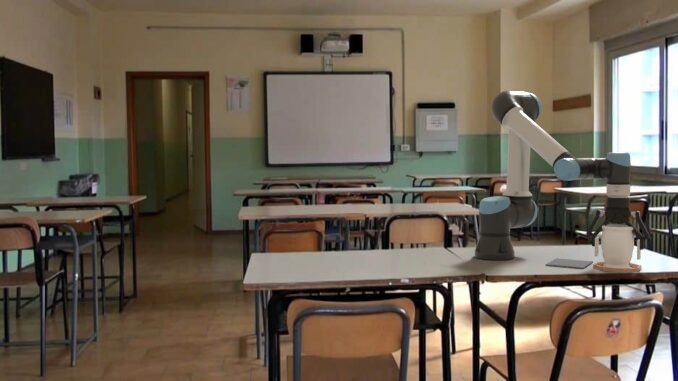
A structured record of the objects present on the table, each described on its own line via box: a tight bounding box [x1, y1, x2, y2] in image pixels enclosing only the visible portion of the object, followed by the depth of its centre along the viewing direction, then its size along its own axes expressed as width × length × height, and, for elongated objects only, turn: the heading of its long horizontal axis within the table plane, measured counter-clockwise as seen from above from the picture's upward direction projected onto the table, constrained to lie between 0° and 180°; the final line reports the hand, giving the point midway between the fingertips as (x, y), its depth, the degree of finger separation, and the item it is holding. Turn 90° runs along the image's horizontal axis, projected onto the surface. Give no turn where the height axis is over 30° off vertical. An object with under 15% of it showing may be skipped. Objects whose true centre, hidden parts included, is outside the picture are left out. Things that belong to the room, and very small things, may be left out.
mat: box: [545, 258, 594, 270], centre depth 225 cm, size 13×15×1 cm
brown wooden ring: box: [592, 261, 642, 273], centre depth 216 cm, size 15×15×1 cm
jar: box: [600, 223, 635, 268], centre depth 216 cm, size 11×10×15 cm
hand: (617, 257), depth 216 cm, fingers open, 13 cm apart
